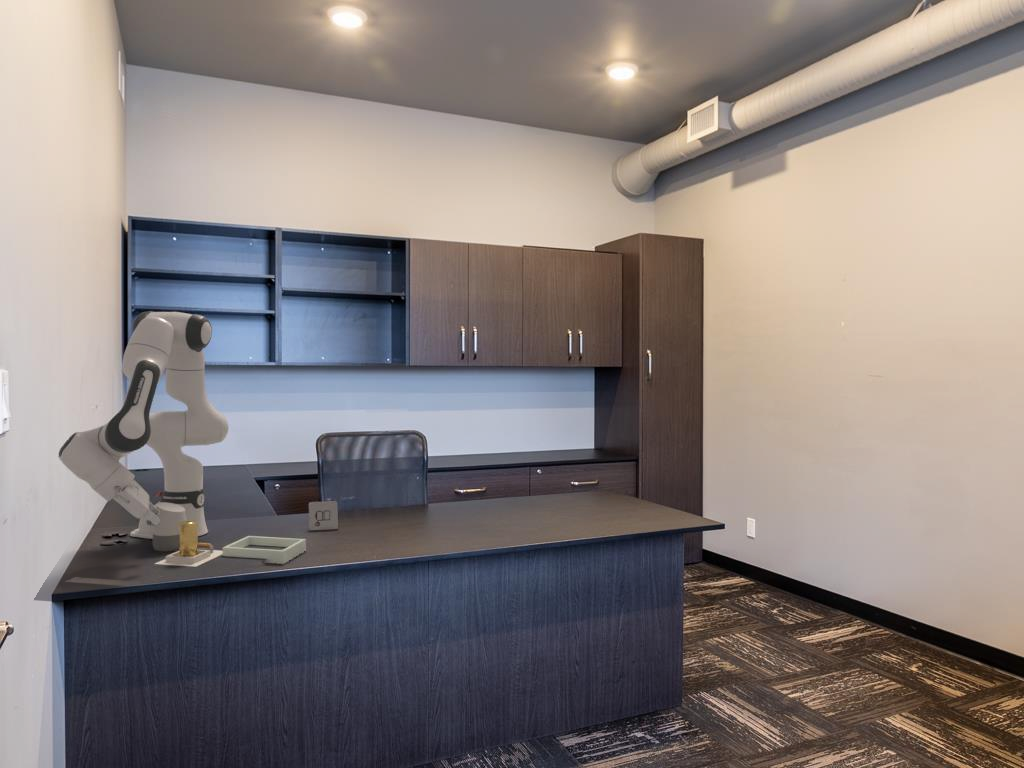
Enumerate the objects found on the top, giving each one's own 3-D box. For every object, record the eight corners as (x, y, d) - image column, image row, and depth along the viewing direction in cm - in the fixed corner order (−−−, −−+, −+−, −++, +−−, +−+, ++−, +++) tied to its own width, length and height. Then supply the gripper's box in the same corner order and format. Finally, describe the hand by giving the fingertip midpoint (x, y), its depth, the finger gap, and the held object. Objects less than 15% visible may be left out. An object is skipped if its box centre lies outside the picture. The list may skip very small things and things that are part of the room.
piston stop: (175, 560, 191) (176, 523, 190) (185, 556, 195) (186, 520, 195) (191, 561, 190) (191, 524, 190) (200, 557, 194) (200, 521, 194)
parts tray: (222, 560, 197) (222, 547, 196) (248, 547, 210) (248, 535, 210) (283, 564, 194) (283, 551, 194) (305, 551, 208) (305, 539, 208)
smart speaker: (180, 556, 200) (181, 506, 200) (146, 556, 199) (147, 506, 199) (193, 547, 209) (193, 500, 209) (160, 547, 209) (161, 500, 208)
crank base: (153, 568, 188) (153, 553, 187) (189, 552, 203) (189, 539, 203) (195, 571, 186) (196, 556, 186) (228, 555, 202) (228, 541, 202)
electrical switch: (308, 531, 232) (309, 502, 233) (307, 529, 237) (307, 501, 238) (338, 529, 236) (338, 501, 236) (336, 528, 240) (336, 500, 241)
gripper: (124, 481, 176) (168, 517, 181) (127, 470, 194) (167, 503, 199) (103, 500, 174) (148, 536, 179) (109, 487, 192) (149, 520, 197)
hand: (158, 518), depth 189 cm, fingers open, 8 cm apart
